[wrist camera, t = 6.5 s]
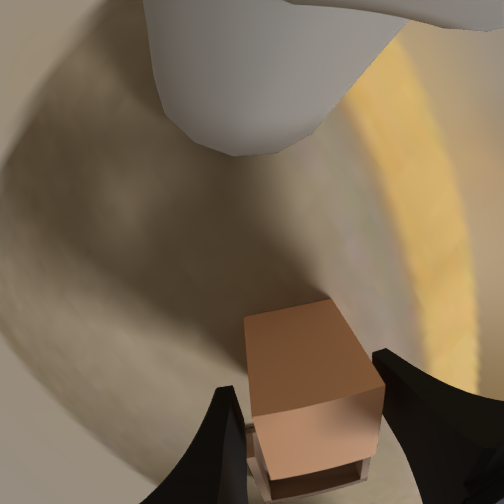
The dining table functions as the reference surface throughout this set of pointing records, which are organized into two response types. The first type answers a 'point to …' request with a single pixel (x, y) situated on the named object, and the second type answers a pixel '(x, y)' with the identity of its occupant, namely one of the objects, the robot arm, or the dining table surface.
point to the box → (300, 476)
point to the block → (311, 390)
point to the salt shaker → (277, 60)
